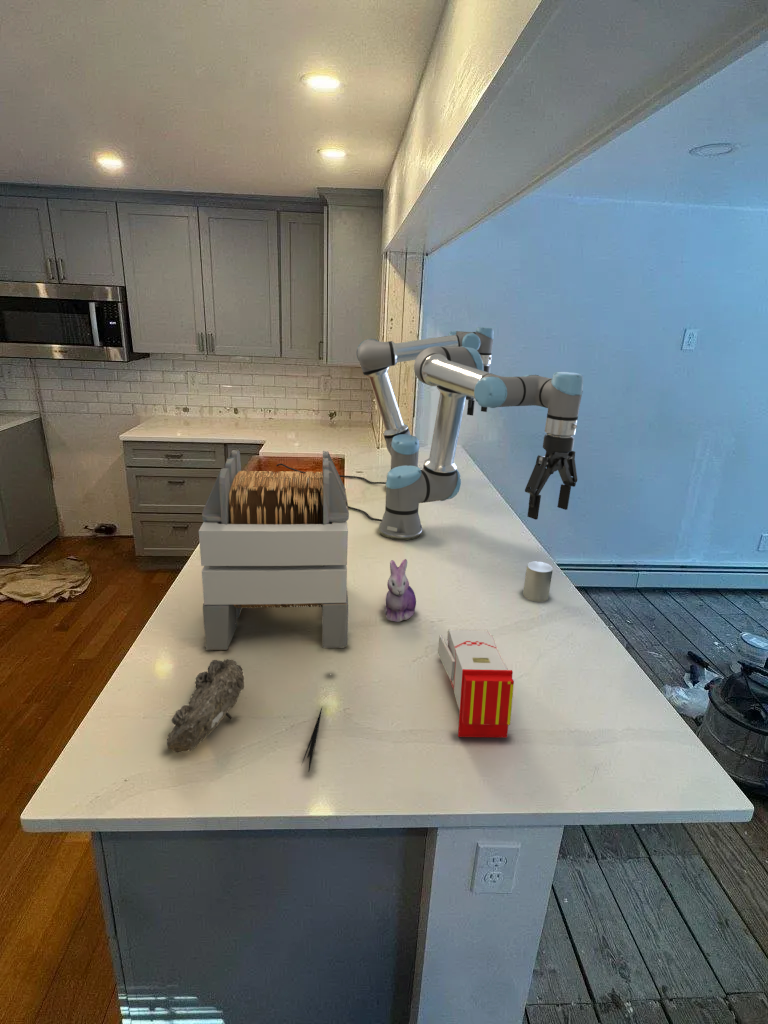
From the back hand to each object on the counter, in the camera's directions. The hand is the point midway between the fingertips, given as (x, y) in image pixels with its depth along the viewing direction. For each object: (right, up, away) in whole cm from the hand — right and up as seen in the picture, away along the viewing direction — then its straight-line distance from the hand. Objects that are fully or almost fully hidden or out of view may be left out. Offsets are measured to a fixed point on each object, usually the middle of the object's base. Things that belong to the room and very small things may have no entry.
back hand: (477, 413), depth 254 cm
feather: (-54, -84, -146) cm, 177 cm away
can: (+1, -68, -94) cm, 116 cm away
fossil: (-75, -83, -146) cm, 184 cm away
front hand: (+2, -45, -103) cm, 112 cm away
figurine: (-38, -71, -107) cm, 134 cm away
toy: (-24, -82, -136) cm, 160 cm away
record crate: (-68, -70, -109) cm, 147 cm away
